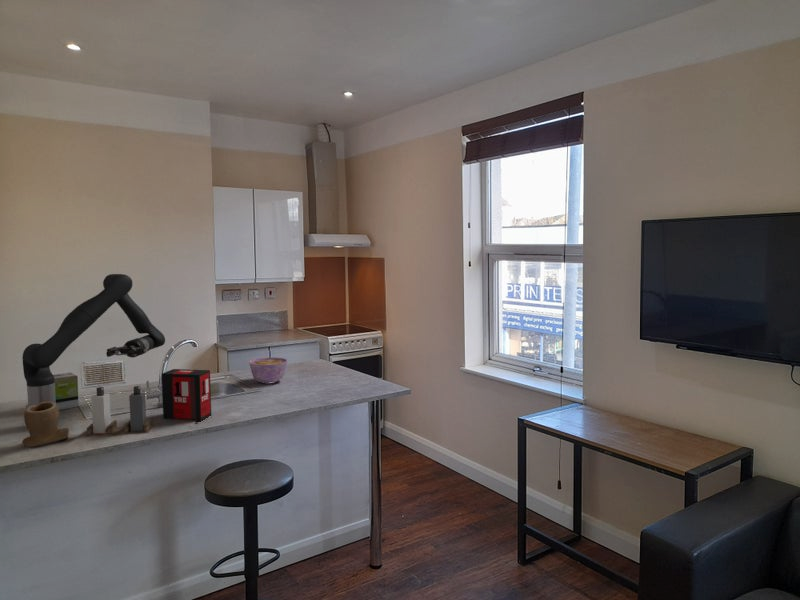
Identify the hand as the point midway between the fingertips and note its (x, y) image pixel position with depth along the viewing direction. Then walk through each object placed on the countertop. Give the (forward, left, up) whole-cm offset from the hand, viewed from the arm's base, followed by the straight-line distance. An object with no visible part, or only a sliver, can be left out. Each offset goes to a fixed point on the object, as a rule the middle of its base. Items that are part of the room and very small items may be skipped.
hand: (118, 354), depth 220 cm
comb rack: (+4, -16, -28) cm, 33 cm away
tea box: (-34, +25, -28) cm, 51 cm away
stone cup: (-19, -22, -28) cm, 40 cm away
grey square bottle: (+11, -16, -27) cm, 33 cm away
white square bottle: (-2, -16, -27) cm, 31 cm away
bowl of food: (+57, +56, -28) cm, 85 cm away
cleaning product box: (+26, -2, -28) cm, 39 cm away
